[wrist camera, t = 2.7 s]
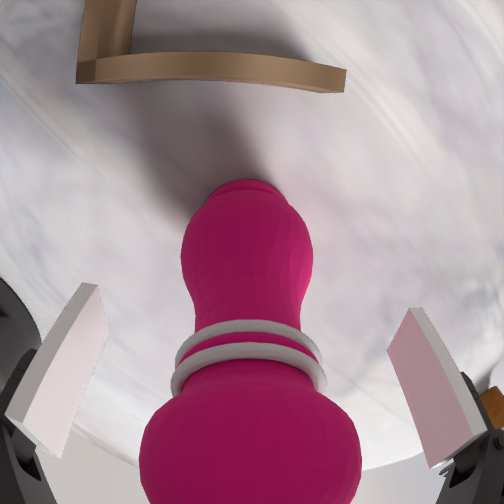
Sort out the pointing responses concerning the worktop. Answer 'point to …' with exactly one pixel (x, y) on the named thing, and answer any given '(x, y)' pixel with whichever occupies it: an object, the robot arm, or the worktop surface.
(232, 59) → the u rest
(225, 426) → the pepper mill
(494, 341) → the worktop surface
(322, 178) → the worktop surface
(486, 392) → the disposable coffee cup
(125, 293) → the worktop surface
